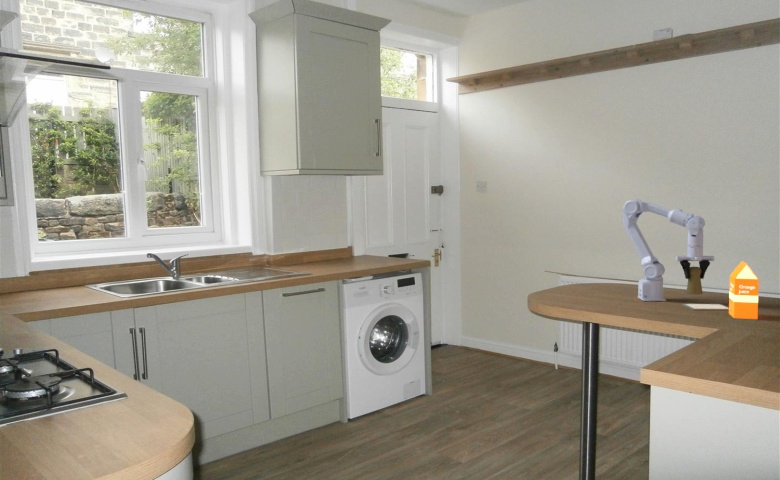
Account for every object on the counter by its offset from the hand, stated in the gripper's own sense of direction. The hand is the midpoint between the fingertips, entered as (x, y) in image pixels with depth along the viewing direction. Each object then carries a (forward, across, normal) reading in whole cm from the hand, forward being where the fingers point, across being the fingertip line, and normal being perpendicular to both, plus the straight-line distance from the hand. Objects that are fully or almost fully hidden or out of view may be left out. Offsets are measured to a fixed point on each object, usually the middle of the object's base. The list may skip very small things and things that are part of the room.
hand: (694, 278), depth 242 cm
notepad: (+10, +2, -8) cm, 13 cm away
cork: (+6, 0, 0) cm, 6 cm away
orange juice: (+11, +8, -24) cm, 28 cm away
